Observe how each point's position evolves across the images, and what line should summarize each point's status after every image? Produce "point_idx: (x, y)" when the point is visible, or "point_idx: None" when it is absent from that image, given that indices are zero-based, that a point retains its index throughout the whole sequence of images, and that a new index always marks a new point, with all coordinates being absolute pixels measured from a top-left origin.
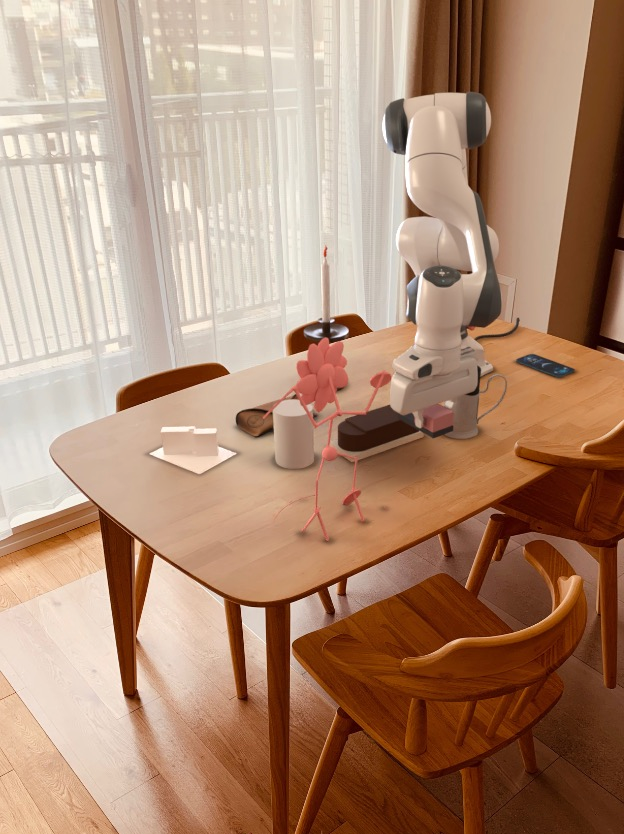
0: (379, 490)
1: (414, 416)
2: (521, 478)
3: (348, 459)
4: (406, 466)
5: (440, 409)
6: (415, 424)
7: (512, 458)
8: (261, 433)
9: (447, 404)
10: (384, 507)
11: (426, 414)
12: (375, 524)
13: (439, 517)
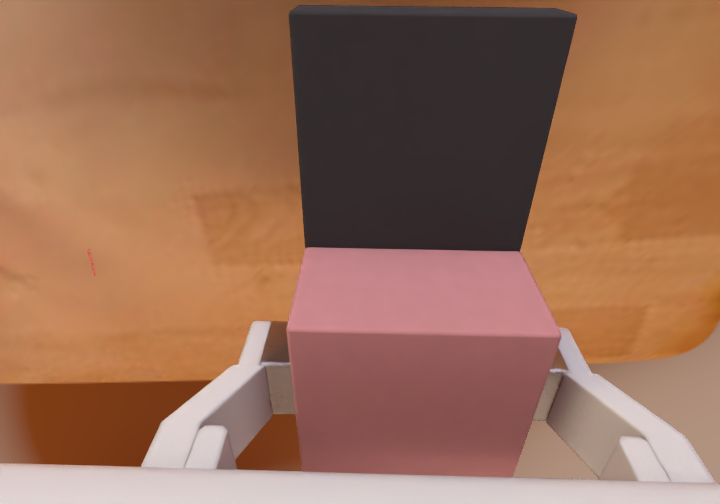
0: (128, 149)
1: (221, 375)
2: (593, 357)
3: None
4: None
5: (462, 437)
6: (252, 323)
7: (716, 269)
8: None
9: (589, 416)
10: (90, 256)
11: (303, 434)
12: (33, 295)
13: (232, 361)
